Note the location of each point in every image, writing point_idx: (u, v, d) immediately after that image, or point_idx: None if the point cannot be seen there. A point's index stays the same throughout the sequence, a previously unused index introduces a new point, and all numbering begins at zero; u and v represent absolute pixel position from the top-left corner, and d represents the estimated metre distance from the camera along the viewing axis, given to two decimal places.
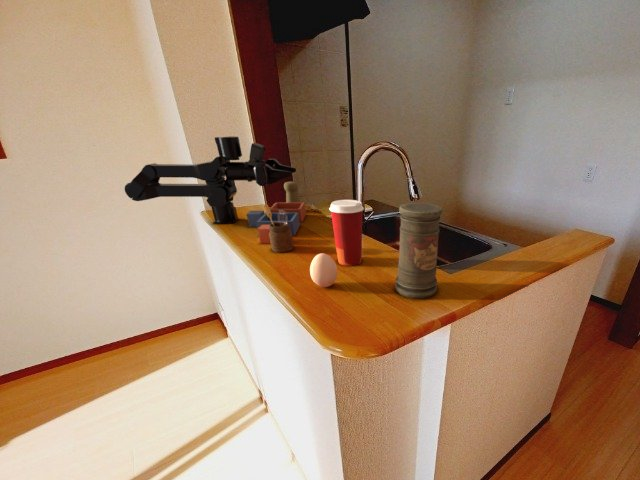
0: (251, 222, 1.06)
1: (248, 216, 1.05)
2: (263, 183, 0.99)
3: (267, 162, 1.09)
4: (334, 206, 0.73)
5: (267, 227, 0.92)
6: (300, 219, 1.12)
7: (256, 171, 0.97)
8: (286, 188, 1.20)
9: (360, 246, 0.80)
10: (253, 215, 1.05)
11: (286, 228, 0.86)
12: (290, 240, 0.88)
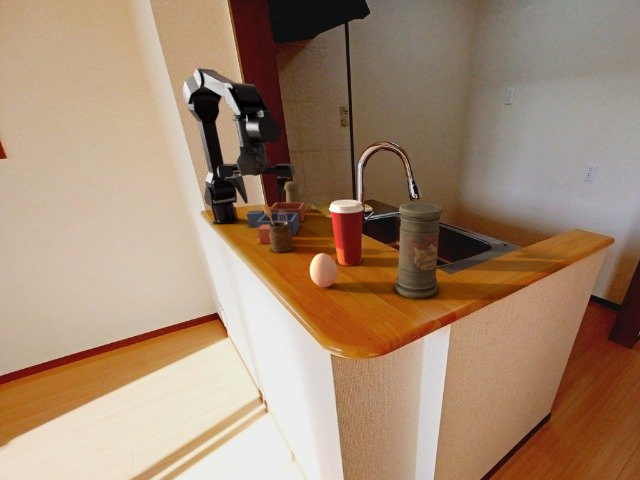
0: (251, 222, 1.06)
1: (248, 216, 1.05)
2: None
3: None
4: (334, 206, 0.73)
5: (267, 227, 0.92)
6: (300, 219, 1.12)
7: None
8: (286, 188, 1.20)
9: (360, 246, 0.80)
10: (253, 215, 1.05)
11: (286, 228, 0.86)
12: (290, 240, 0.88)
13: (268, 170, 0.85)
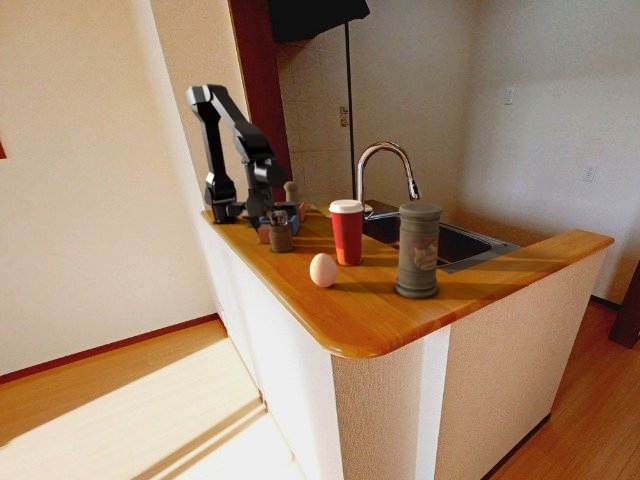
0: None
1: None
2: None
3: None
4: (334, 206, 0.73)
5: (267, 227, 0.92)
6: (300, 219, 1.12)
7: None
8: (286, 188, 1.20)
9: (360, 246, 0.80)
10: None
11: (286, 228, 0.86)
12: (290, 240, 0.88)
13: (274, 208, 0.90)
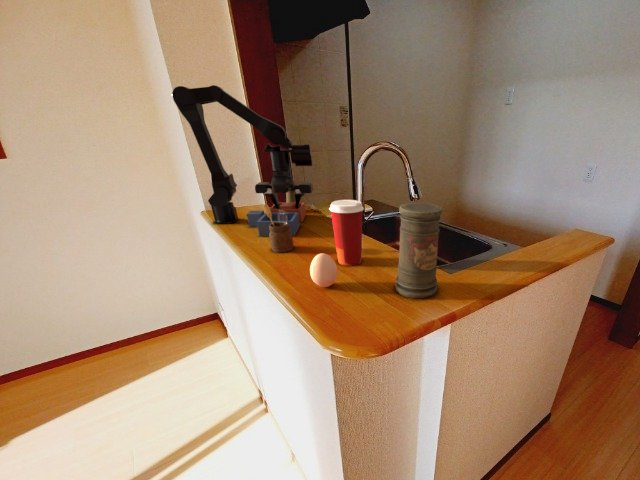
0: (251, 222, 1.06)
1: (248, 216, 1.05)
2: None
3: None
4: (334, 206, 0.73)
5: (287, 205, 1.14)
6: (300, 219, 1.12)
7: None
8: None
9: (360, 246, 0.80)
10: (253, 215, 1.05)
11: (286, 228, 0.86)
12: (290, 240, 0.88)
13: (293, 187, 1.11)
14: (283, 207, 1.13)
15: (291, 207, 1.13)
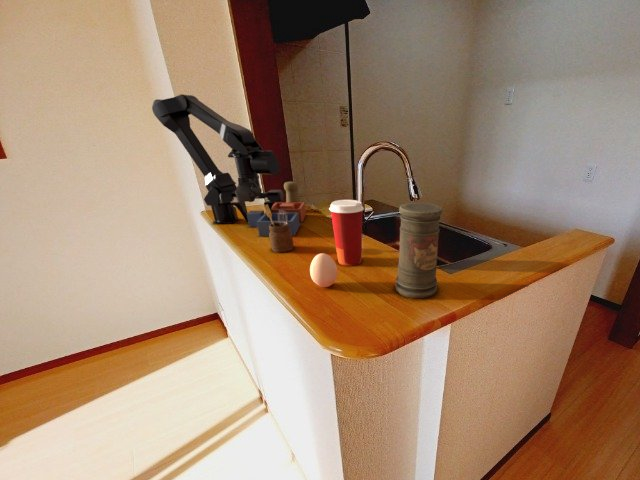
0: (251, 222, 1.06)
1: (248, 216, 1.05)
2: None
3: None
4: (334, 206, 0.73)
5: (287, 205, 1.14)
6: (300, 219, 1.12)
7: None
8: (286, 188, 1.20)
9: (360, 246, 0.80)
10: (253, 215, 1.05)
11: (286, 228, 0.86)
12: (290, 240, 0.88)
13: (261, 195, 1.04)
14: (283, 207, 1.13)
15: (291, 207, 1.13)
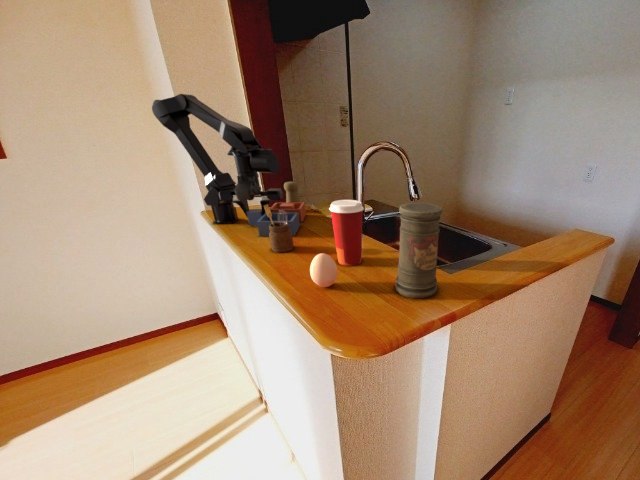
0: (250, 220, 1.06)
1: (248, 214, 1.05)
2: None
3: None
4: (334, 206, 0.73)
5: (287, 205, 1.14)
6: (300, 219, 1.12)
7: None
8: (286, 188, 1.20)
9: (360, 246, 0.80)
10: (253, 213, 1.05)
11: (286, 228, 0.86)
12: (290, 240, 0.88)
13: (261, 194, 1.04)
14: (283, 207, 1.13)
15: (291, 207, 1.13)
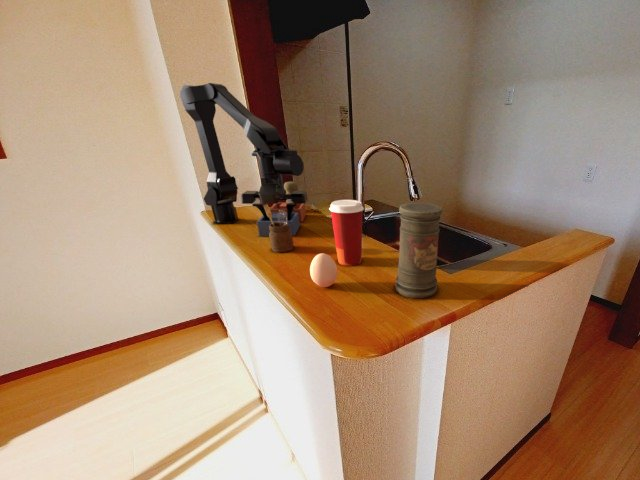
0: None
1: None
2: None
3: None
4: (334, 206, 0.73)
5: None
6: (300, 219, 1.12)
7: None
8: (286, 188, 1.20)
9: (360, 246, 0.80)
10: (276, 219, 1.00)
11: (286, 228, 0.86)
12: (290, 240, 0.88)
13: (284, 197, 0.98)
14: (283, 207, 1.13)
15: None
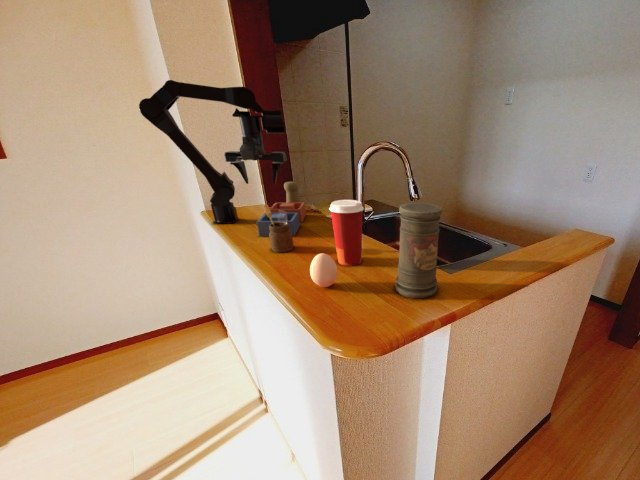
0: None
1: None
2: None
3: None
4: (334, 206, 0.73)
5: (287, 205, 1.14)
6: (300, 219, 1.12)
7: None
8: (286, 188, 1.20)
9: (360, 246, 0.80)
10: (276, 219, 1.00)
11: (286, 228, 0.86)
12: (290, 240, 0.88)
13: (265, 156, 1.07)
14: (283, 207, 1.13)
15: (291, 207, 1.13)
